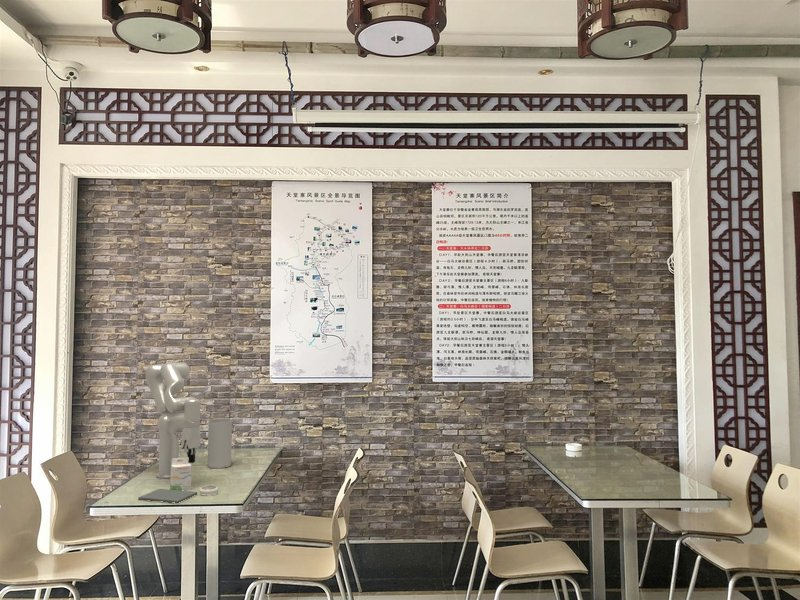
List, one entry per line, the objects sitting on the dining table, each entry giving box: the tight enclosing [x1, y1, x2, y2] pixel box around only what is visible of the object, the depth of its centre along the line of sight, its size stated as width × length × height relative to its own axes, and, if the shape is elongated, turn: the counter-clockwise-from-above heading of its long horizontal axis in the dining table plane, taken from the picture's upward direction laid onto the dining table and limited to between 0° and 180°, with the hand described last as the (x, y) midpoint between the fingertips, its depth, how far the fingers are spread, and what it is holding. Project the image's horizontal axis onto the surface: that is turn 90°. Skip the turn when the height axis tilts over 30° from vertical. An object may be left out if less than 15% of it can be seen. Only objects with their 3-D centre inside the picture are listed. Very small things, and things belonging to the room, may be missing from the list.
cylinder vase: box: [207, 418, 233, 469], centre depth 337 cm, size 12×12×25 cm
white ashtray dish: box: [199, 485, 219, 496], centre depth 282 cm, size 8×8×3 cm
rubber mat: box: [138, 488, 198, 504], centre depth 275 cm, size 15×20×1 cm
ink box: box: [169, 456, 193, 491], centre depth 288 cm, size 9×5×15 cm, turn 126°
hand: (191, 462), depth 296 cm, fingers closed
